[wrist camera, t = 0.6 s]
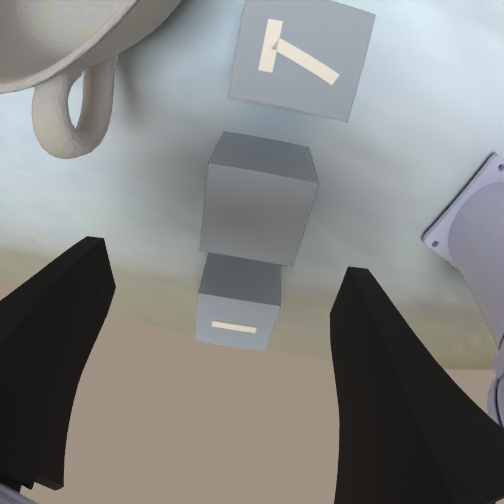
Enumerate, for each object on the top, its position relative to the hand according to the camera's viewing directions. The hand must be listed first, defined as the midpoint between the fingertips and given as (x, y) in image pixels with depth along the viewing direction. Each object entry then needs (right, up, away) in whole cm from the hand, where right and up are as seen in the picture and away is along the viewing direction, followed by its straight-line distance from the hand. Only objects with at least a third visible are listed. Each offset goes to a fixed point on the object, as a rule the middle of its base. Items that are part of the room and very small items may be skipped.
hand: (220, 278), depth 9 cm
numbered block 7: (+3, +11, +4) cm, 11 cm away
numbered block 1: (0, -1, +13) cm, 13 cm away
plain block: (+1, +5, +8) cm, 10 cm away
